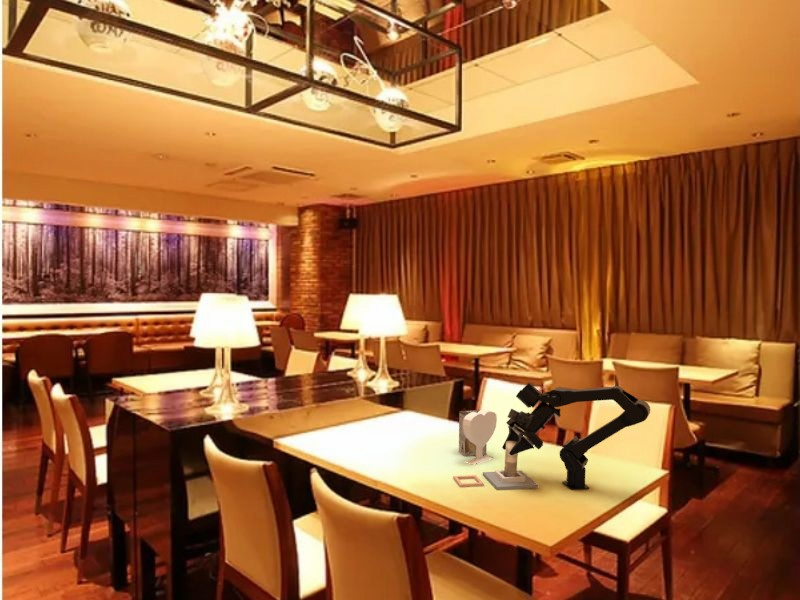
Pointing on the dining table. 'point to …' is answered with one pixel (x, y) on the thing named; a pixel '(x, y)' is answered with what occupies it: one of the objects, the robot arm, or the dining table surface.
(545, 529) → the dining table surface
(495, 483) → the board
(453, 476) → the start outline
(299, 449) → the dining table surface
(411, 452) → the dining table surface
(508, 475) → the birch pin
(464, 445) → the coffee box
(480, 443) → the heart sculpture
